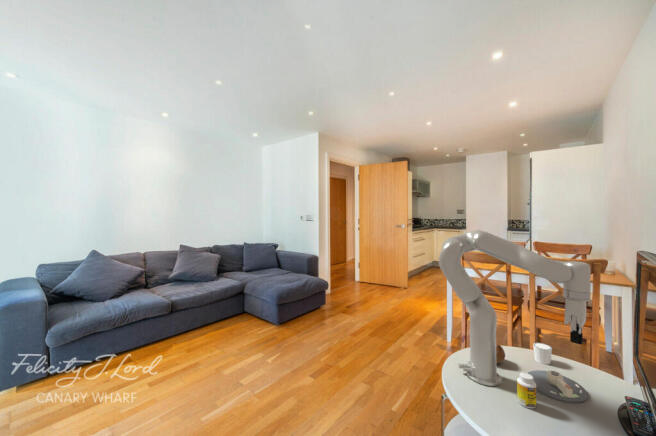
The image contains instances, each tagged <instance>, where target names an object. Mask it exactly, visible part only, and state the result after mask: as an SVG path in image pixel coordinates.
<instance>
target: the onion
mask: <svg viewBox="0 0 656 436" xmlns="http://www.w3.org/2000/svg"><path fill="white" fill-rule="evenodd" d="M505 358H506V352H505V350H504V348H503V347H502V346H501V345H500V344H499V343H497V342H496V364H501V363H502V362H504V360H505Z"/></svg>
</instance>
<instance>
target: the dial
mask: <svg viewBox="0 0 656 436" xmlns="http://www.w3.org/2000/svg"><path fill="white" fill-rule="evenodd" d="M547 371H548V370H547ZM547 371H546V370H541V369H540V370H539V369H538V370H530V371H529V372H527V374H530V375H532V376H533V380H534V382H535V383H536V392H538V393H540V394H542V395H544V396H546V397H548V398H551V399H553V400H556V401H560V402H565V403H571V404H582V403H584V402H586V401H587V400H588V392H587V390H586V389H585V387H583V386H582V385H580V383H578V382H576V381H575V380H573V379H571V378H570V377H566V376H565V375H563V381H564V382H565V383H566V384H567V385H569V386H570V387H571V388H572V389H573V398H571V397H566V396H565V395H564V394H563V393H562V392H561V390H560V389H559V388H558V387H556V386H553V385H551V384H549V383H548V382H547Z"/></svg>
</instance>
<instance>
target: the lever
mask: <svg viewBox="0 0 656 436" xmlns="http://www.w3.org/2000/svg"><path fill="white" fill-rule="evenodd" d="M563 376H564V375H562V374H561V373H560V372H558V371H555V370H547V382H548V383H549V384H551V385H553V386H556V387H558V388H559V389H560V390H561V392H562V393H563V394H564V395H565V396H566V397H571V398H573V389H572V388H571V387H570V386H569V385H567V384H566V383H565V382H564V381H563Z"/></svg>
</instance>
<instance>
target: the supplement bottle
mask: <svg viewBox="0 0 656 436" xmlns="http://www.w3.org/2000/svg"><path fill="white" fill-rule="evenodd" d="M527 373H528V372H527ZM527 373H526V372H520V373H519V377H517V379H516V392H517V394H516V395H517V396H516V399H517V403H518V404H520V405H521V406H523V407H524V408H527V409H536V407H537V390H536V383H535V382H534V380H533V376H532V375H530V374H527Z"/></svg>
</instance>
